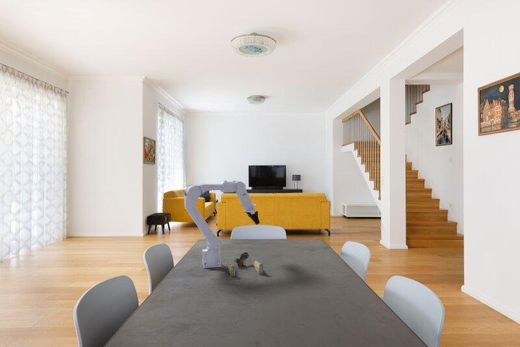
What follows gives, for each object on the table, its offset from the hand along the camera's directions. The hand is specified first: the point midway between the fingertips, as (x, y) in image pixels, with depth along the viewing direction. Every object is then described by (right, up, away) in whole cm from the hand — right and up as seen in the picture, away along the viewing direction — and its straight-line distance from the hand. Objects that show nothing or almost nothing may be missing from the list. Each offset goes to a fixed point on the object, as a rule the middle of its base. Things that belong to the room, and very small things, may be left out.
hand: (256, 222), depth 175 cm
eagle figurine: (-8, -21, -11) cm, 25 cm away
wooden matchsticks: (-6, -21, -20) cm, 30 cm away
